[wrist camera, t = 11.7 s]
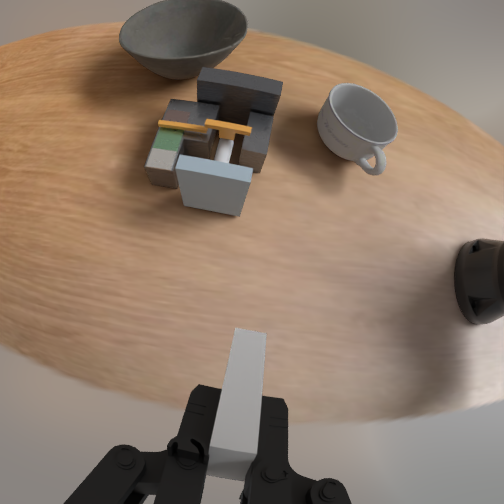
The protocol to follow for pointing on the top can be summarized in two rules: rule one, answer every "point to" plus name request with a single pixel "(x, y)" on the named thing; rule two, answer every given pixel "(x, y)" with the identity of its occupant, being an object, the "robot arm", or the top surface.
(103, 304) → the top surface
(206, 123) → the orange bar
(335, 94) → the teacup
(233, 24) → the bowl
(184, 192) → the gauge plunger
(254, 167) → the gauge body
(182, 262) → the top surface
